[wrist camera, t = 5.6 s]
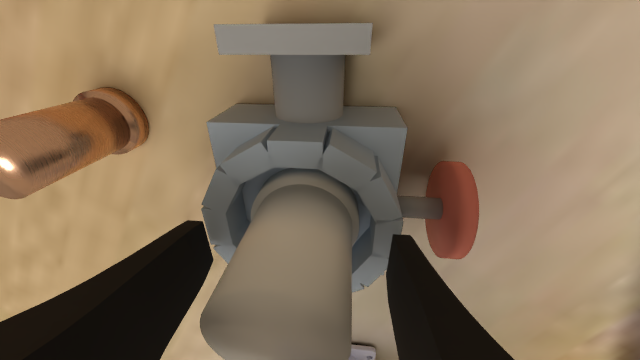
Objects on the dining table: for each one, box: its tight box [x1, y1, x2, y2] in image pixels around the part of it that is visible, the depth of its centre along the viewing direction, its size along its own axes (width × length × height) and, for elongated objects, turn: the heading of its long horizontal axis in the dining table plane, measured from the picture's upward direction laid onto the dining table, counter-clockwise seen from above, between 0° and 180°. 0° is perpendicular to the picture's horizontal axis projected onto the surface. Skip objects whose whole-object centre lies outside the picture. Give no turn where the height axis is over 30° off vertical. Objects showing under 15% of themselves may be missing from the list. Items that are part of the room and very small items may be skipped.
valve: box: [201, 23, 479, 292], centre depth 13 cm, size 15×11×5 cm
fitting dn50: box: [200, 168, 359, 360], centre depth 10 cm, size 5×5×6 cm
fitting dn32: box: [0, 87, 149, 199], centre depth 12 cm, size 3×3×6 cm
